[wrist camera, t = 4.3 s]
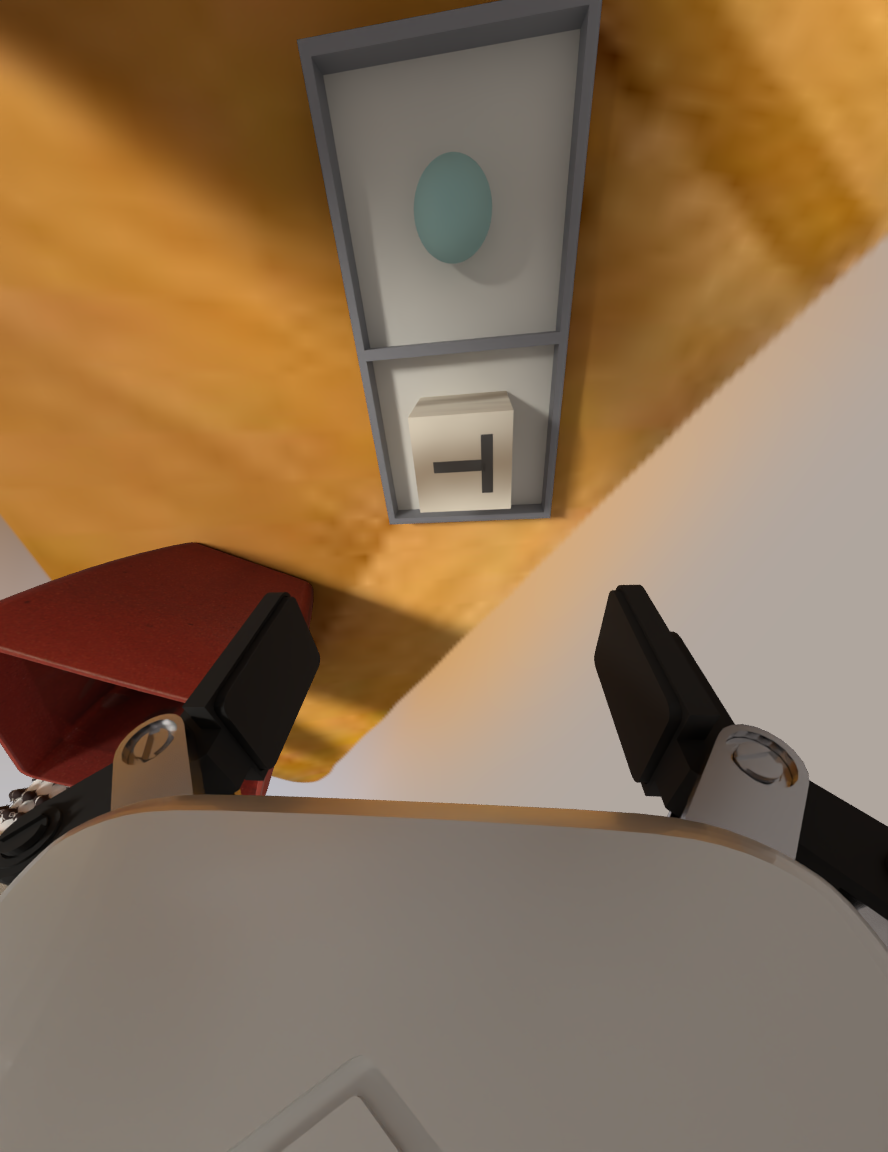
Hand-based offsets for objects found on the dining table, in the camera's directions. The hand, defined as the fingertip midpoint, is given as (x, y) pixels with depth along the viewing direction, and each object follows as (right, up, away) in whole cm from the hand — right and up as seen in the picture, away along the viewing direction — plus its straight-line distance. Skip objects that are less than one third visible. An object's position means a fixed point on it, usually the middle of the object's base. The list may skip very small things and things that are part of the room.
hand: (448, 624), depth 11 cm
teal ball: (0, +21, +9) cm, 23 cm away
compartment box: (+1, +17, +13) cm, 21 cm away
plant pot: (-22, -1, +29) cm, 36 cm away
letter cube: (+1, +12, +16) cm, 20 cm away
